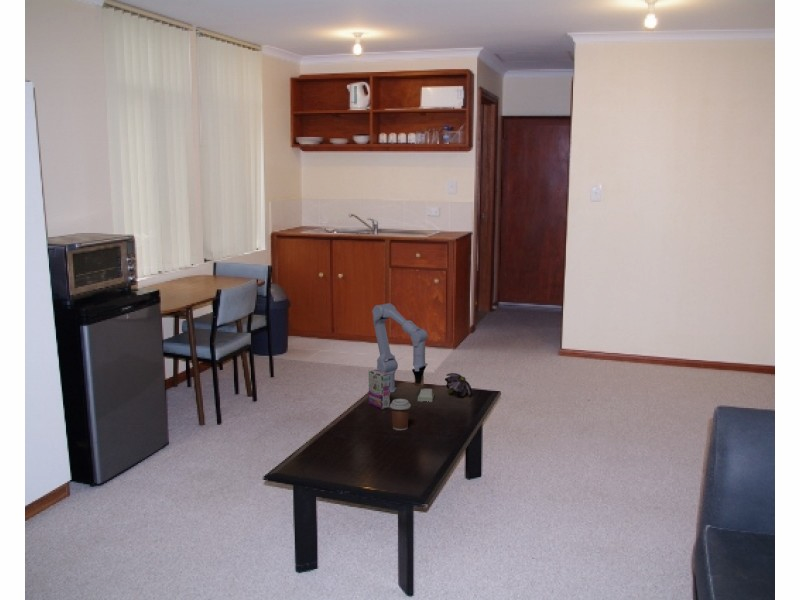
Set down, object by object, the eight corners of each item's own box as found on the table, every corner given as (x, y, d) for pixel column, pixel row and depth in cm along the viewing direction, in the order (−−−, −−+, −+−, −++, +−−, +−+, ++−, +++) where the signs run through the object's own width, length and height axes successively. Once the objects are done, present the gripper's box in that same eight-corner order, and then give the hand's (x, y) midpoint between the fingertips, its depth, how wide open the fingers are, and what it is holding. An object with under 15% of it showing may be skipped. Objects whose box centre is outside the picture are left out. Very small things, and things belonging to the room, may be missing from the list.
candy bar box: (390, 407, 338) (390, 373, 335) (382, 409, 335) (381, 375, 332) (376, 401, 346) (376, 368, 344) (368, 403, 344) (368, 370, 341)
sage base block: (417, 402, 348) (417, 397, 347) (419, 397, 354) (419, 392, 354) (432, 402, 346) (432, 397, 346) (433, 398, 353) (433, 393, 353)
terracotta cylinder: (413, 385, 348) (413, 376, 348) (415, 383, 353) (415, 374, 352) (422, 386, 347) (422, 377, 347) (424, 383, 352) (424, 374, 351)
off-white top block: (420, 396, 348) (420, 391, 347) (420, 393, 353) (421, 388, 353) (431, 397, 347) (431, 392, 347) (432, 393, 353) (432, 388, 352)
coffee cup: (399, 422, 317) (399, 396, 315) (415, 427, 311) (415, 400, 309) (385, 428, 310) (385, 401, 308) (401, 433, 305) (401, 405, 302)
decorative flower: (463, 382, 345) (443, 367, 355) (453, 403, 347) (433, 388, 357) (481, 384, 355) (461, 370, 365) (472, 405, 357) (452, 390, 367)
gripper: (425, 358, 340) (425, 386, 342) (429, 351, 354) (429, 378, 356) (410, 358, 341) (410, 385, 343) (415, 350, 355) (415, 377, 357)
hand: (419, 381), depth 350 cm, fingers closed on terracotta cylinder, 4 cm apart
